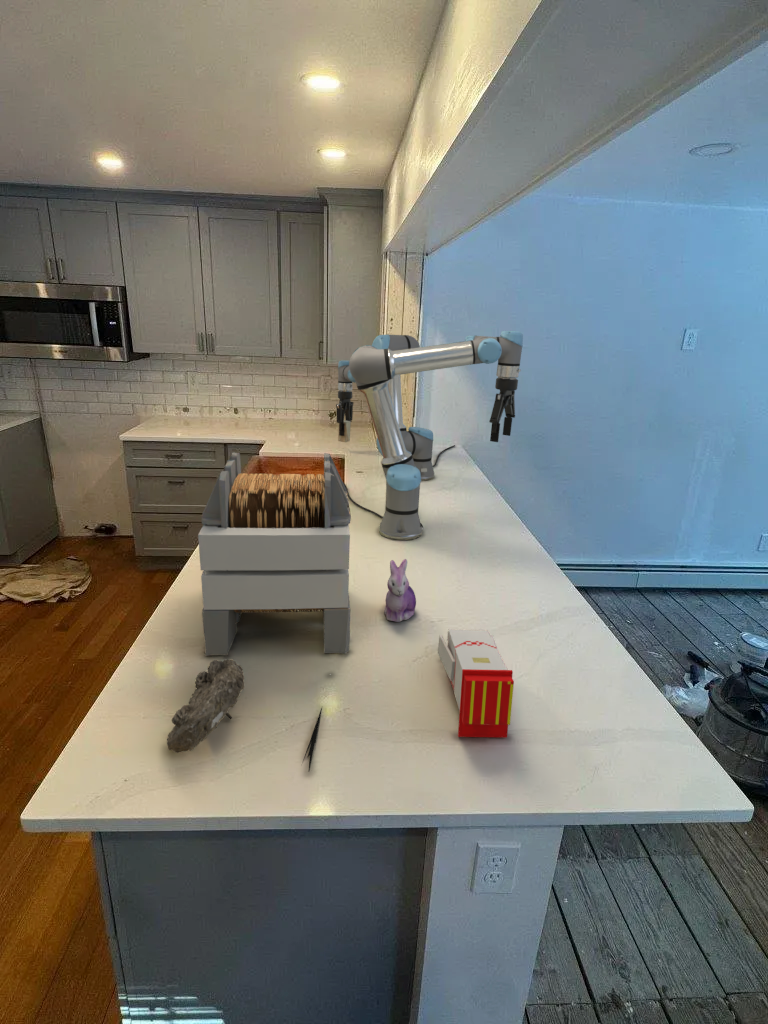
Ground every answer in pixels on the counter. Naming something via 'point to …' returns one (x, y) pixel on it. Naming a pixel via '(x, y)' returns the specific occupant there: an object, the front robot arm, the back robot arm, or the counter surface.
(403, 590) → the figurine
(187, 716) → the fossil
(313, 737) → the feather
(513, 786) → the counter surface
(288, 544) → the cotton gin model
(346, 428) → the box
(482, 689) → the toy
